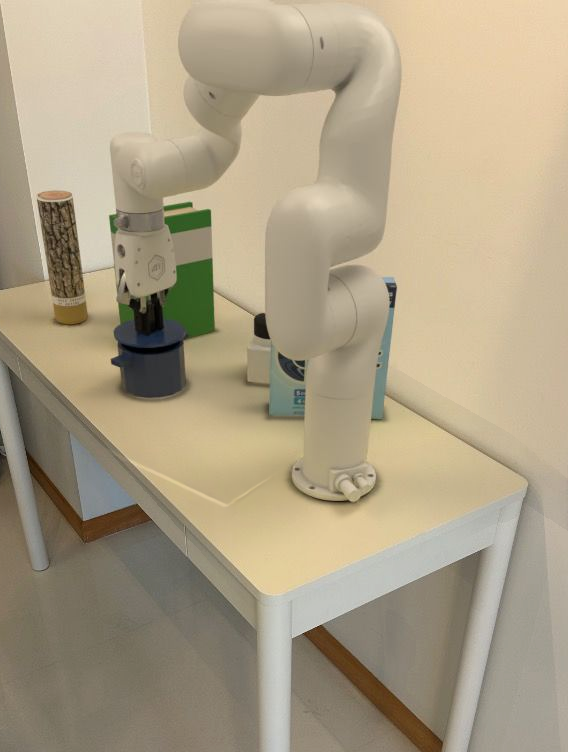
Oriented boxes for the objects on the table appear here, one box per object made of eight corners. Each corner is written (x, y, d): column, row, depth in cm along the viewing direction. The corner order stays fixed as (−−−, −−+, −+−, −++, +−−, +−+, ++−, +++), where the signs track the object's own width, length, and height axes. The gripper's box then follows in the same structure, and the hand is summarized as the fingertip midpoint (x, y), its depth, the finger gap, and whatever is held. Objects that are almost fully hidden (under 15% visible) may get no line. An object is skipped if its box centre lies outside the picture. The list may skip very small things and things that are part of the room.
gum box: (269, 418, 136) (270, 284, 123) (269, 404, 140) (271, 273, 127) (383, 420, 136) (397, 286, 123) (380, 406, 140) (394, 275, 127)
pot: (208, 379, 148) (207, 335, 143) (143, 412, 137) (138, 366, 132) (164, 362, 154) (161, 320, 148) (97, 393, 143) (92, 347, 138)
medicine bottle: (285, 388, 146) (286, 324, 138) (246, 384, 147) (246, 320, 139) (292, 371, 151) (294, 309, 144) (255, 368, 152) (255, 306, 145)
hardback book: (195, 320, 171) (190, 201, 157) (214, 331, 166) (211, 209, 152) (121, 338, 162) (108, 215, 148) (140, 351, 158) (128, 224, 143)
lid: (200, 335, 141) (199, 301, 137) (149, 357, 133) (147, 321, 129) (150, 317, 147) (147, 284, 143) (99, 338, 139) (94, 303, 135)
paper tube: (94, 318, 171) (79, 193, 156) (72, 328, 166) (54, 201, 152) (71, 311, 174) (54, 188, 159) (48, 321, 169) (28, 195, 155)
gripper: (119, 235, 121) (130, 350, 132) (192, 213, 131) (197, 322, 142) (86, 226, 125) (99, 338, 136) (159, 205, 135) (166, 312, 146)
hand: (149, 329), depth 139 cm, fingers closed on lid, 2 cm apart
